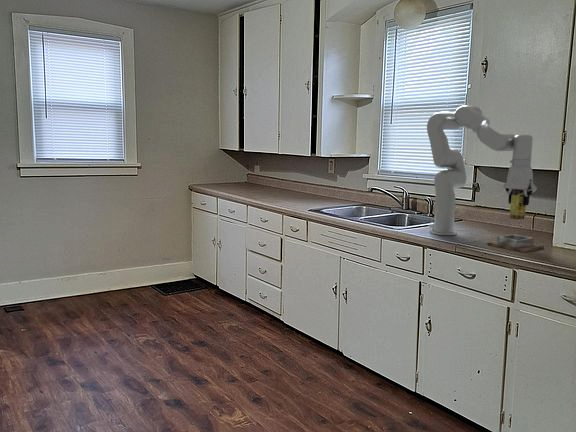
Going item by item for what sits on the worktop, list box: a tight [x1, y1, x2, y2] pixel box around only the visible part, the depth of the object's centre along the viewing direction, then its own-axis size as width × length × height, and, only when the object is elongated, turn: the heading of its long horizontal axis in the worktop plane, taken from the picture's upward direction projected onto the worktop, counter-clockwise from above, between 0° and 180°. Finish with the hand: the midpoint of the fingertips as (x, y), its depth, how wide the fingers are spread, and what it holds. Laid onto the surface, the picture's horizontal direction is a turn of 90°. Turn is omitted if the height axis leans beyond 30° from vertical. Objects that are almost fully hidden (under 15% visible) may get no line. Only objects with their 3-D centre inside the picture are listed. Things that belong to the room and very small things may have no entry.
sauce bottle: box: [509, 189, 527, 220], centre depth 237 cm, size 6×6×20 cm
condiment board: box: [486, 233, 545, 253], centre depth 240 cm, size 18×15×4 cm
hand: (518, 203), depth 238 cm, fingers closed on sauce bottle, 6 cm apart
